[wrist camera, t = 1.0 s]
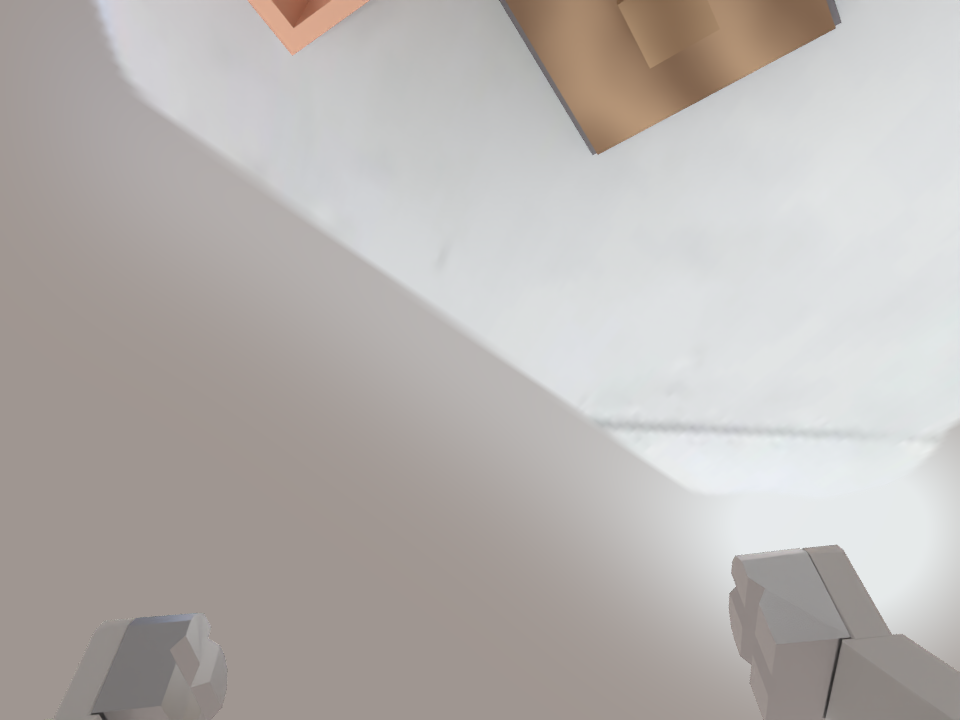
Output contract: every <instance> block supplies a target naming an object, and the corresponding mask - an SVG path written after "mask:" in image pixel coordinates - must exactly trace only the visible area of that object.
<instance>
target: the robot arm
mask: <svg viewBox="0 0 960 720" xmlns="http://www.w3.org/2000/svg"><path fill="white" fill-rule="evenodd" d="M731 573H732V576H733V578H734V581H735V584H736V587H735V588H734V589H733V590H732V591H731V592H730V596H729V597H730V598H729V613H730V621H731V628H732V631H733V635H734V639H735V642H736V646H737V648H738V651H739V654H740V656H741V657H742V658H743V659H745V660H746V661H747V662H748V663H750V664H751V665H752V666H751V677H750V685H751V687H752V690H753V692H754V695H755V698H756V701H757V704H758V706H759V709H760V711H761V714H762V717H763V720H960V672H959V671H957V670H955V669H954V668H953V667H951V666H950V665H948V664H947V663H945V662H944V661H942V660H940V659H939V658H937V657H936V656H935V655H933V654H932V653H930V652H929V651H927V650H926V649H924V648H923V647H921V646H920V645H918V644H916V643H915V642H914V641H912V640H911V639H909V638H908V637H906V636H905V635H903V634H896V635H892V634H891V632H890V630H889V629H888V627H887V625H886V623H885V622H884V620H883V618H882V616H881V615H880V613H879V611H878V610H877V608H876V606H875V604H874V603H873V601H872V599H871V597H870V596H869V594H868V592H867V590H866V589H865V587H864V585H863V583H862V582H861V580H860V578H859V577H858V575H857V573H856V571H855V570H854V568H853V566H852V564H851V563H850V561H849V559H848V557H847V556H846V554H845V552H844V550H843V549H842V548H840V547H839V546H838V545H829V546H820V547H810V548H803V549H800V548H797V549H788V550H779V551H771V552H762V553H754V554H745V555H737V556H735V557H734V559H733V562H732V572H731ZM210 630H211V626H210V624H209V622H208V620H207V618H206V616H205V615H204V613H193V614H180V615H167V616H153V617H141V618H132V619H120V620H110V621H104V622H103V623H102V624H101V625H100V626H99V627H98V628H96V630H95V631H94V634H93V636H92V638H91V640H90V642H89V644H88V646H87V648H86V650H85V652H84V655H83V657H82V659H81V661H80V663H79V665H78V667H77V670H76V672H75V674H74V676H73V678H72V680H71V682H70V684H69V687H68V689H67V691H66V693H65V695H64V697H63V699H62V702H61V704H60V706H59V708H58V710H57V712H56V714H55V716H54V719H46V720H211V719H212V718H213V717H214V716H215V715H216V714H217V713H218V711H219V710H220V709H221V708H222V706H223V702H224V698H225V694H226V690H227V665H226V660H225V655H224V653H223V651H222V649H221V647H220V645H218V644H216V643H215V642H213V641H212V640H210V639H208V636H209V633H210Z"/></svg>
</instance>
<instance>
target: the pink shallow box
mask: <svg viewBox="0 0 960 720" xmlns="http://www.w3.org/2000/svg"><path fill="white" fill-rule="evenodd" d="M368 1H370V0H248V2H249V3H250V4H251V5H252V6H253V8H254V9H255V10H256V11H257V13H258V14H259V15H260V16H261V18H262V19H263V20H264V21H265V22H266V24H267V25H268V26H269V27H270V29H271V30H272V31H273V32H274V34H275V35H276V36H277V37H278V38H279V40H280V41H281V42H282V43H283V45H284V46H285V47H286V48H287V50H288V51H289V52H290V53H291V54H292V56H293V55H294V54H295V53H297V52H298V51H300V50H301V49H302V48H304V47H305V46H307V45H308V44H309V43H311V42H312V41H314V40H315V39H316V38H318V37H319V36H321V35H322V34H323V33H325V32H326V31H328V30H329V29H330V28H332V27H333V26H335V25H336V24H337V23H339V22H340V21H342V20H343V19H344V18H346V17H347V16H349V15H350V14H351V13H353V12H354V11H356V10H357V9H358V8H360V7H361V6H363V5H364V4H365V3H367V2H368Z"/></svg>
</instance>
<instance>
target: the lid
mask: <svg viewBox="0 0 960 720" xmlns="http://www.w3.org/2000/svg"><path fill="white" fill-rule="evenodd" d="M505 1H506V3H507V4H508V6H509V8H510V9H511V11H512V13H513V14H514V16H515V18H516V19H517V21H518V23H519V24H520V26H521V28H522V29H523V31H524V33H525V34H526V36H527V38H528V39H529V41H530V43H531V44H532V46H533V48H534V49H535V51H536V53H537V54H538V56H539V58H540V59H541V61H542V63H543V64H544V66H545V68H546V69H547V71H548V73H549V74H550V76H551V78H552V79H553V81H554V83H555V84H556V86H557V88H558V89H559V91H560V93H561V94H562V96H563V98H564V99H565V101H566V103H567V104H568V106H569V108H570V109H571V111H572V113H573V114H574V116H575V118H576V119H577V121H578V123H579V124H580V126H581V128H582V129H583V131H584V133H585V134H586V136H587V138H588V139H589V141H590V143H591V144H592V146H593V148H594V149H595V151H596V153H597V154H600V153H602V152H604V151H606V150H608V149H609V148H611V147H613V146H615V145H617V144H619V143H621V142H623V141H624V140H626V139H628V138H630V137H632V136H634V135H636V134H638V133H640V132H641V131H643V130H645V129H647V128H649V127H651V126H653V125H655V124H656V123H658V122H660V121H662V120H664V119H666V118H668V117H670V116H671V115H673V114H675V113H677V112H679V111H681V110H683V109H685V108H687V107H688V106H690V105H692V104H694V103H696V102H698V101H700V100H702V99H703V98H705V97H707V96H709V95H711V94H713V93H715V92H717V91H718V90H720V89H722V88H724V87H726V86H728V85H730V84H732V83H734V82H735V81H737V80H739V79H741V78H743V77H745V76H747V75H749V74H750V73H752V72H754V71H756V70H758V69H760V68H762V67H764V66H765V65H767V64H769V63H771V62H773V61H775V60H777V59H779V58H781V57H782V56H784V55H786V54H788V53H790V52H792V51H794V50H796V49H797V48H799V47H801V46H803V45H805V44H807V43H809V42H811V41H812V40H814V39H816V38H818V37H820V36H822V35H824V34H826V33H828V32H829V31H831V30H833V29H835V25H834V22H833V19H832V16H831V13H830V10H829V7H828V4H827V1H826V0H505Z"/></svg>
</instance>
